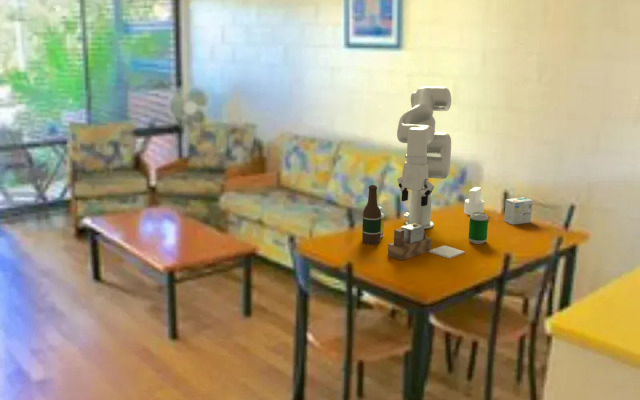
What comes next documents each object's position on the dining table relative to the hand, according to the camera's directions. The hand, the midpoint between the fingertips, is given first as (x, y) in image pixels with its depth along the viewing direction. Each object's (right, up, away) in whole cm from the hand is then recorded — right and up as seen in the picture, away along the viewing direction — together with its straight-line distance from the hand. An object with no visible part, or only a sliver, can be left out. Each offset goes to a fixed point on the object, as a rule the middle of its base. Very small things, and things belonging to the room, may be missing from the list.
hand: (414, 203), depth 262 cm
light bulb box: (+55, -9, +49) cm, 74 cm away
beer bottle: (-15, -16, +18) cm, 29 cm away
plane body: (-1, -20, +5) cm, 20 cm away
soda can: (+29, -16, +20) cm, 39 cm away
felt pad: (+14, -20, +6) cm, 25 cm away
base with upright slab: (+37, -5, +63) cm, 73 cm away
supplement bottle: (-13, -14, +26) cm, 32 cm away
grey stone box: (0, -15, +4) cm, 15 cm away
